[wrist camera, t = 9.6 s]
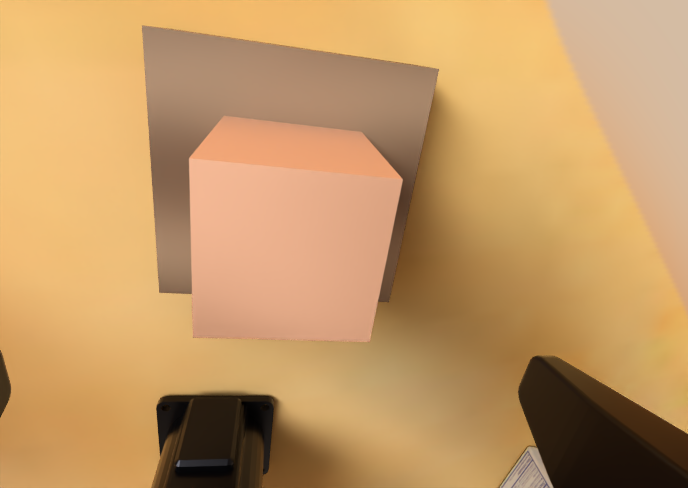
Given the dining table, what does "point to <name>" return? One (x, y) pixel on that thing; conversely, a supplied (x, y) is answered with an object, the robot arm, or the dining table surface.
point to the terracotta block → (288, 231)
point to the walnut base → (270, 118)
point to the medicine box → (528, 472)
